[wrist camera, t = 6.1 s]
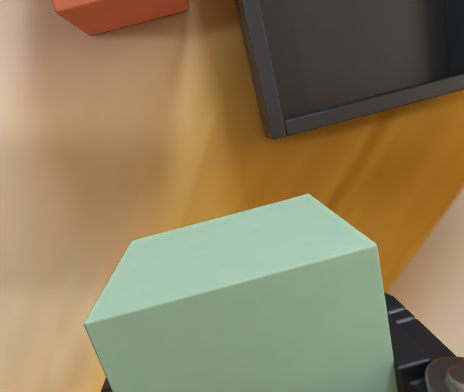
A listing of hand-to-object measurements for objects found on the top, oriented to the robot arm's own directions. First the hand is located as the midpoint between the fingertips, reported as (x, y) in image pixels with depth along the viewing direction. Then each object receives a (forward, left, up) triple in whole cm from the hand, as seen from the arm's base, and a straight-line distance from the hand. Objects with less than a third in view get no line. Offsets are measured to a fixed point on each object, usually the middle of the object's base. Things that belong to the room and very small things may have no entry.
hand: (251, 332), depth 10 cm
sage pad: (0, 0, -1) cm, 1 cm away
